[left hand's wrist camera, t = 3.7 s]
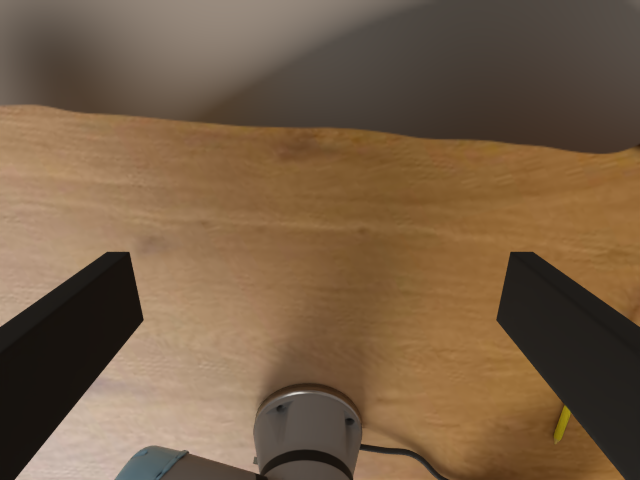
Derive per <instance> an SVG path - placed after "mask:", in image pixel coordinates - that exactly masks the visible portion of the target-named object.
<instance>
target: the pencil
mask: <svg viewBox="0 0 640 480" xmlns="http://www.w3.org/2000/svg"><path fill="white" fill-rule="evenodd" d="M570 415H571V412H570V411H569V409H568V408H567V407H566V406H565V405H564V408H563V410H562V413H561V416H560V419H559V421H558V424H557V427H556V430H555V432H554V435H553V436H554V444H556V443H558V442H559V441H560V440H561V439H562V436H563V433H564V431H565V428H566V425H567V423H568V420H569V417H570Z"/></svg>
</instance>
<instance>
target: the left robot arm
mask: <svg viewBox="0 0 640 480" xmlns="http://www.w3.org/2000/svg"><path fill="white" fill-rule="evenodd" d="M143 320H144V319H143V315H142V310H141V305H140V300H139V295H138V291H137V286H136V281H135V276H134V272H133V267H132V262H131V257H130V252H106V253H105V254H103V255H102V256H101V257H99V258H98V259H96V260H95V261H94V262H92V263H91V264H89V265H88V266H86V267H85V268H84V269H82V270H81V271H79V272H78V273H76V274H75V275H74V276H72V277H71V278H69V279H68V280H67V281H65V282H64V283H62V284H61V285H59V286H58V287H57V288H55V289H54V290H52V291H51V292H49V293H48V294H47V295H45V296H44V297H42V298H41V299H39V300H38V301H37V302H35V303H34V304H32V305H31V306H30V307H28V308H27V309H25V310H24V311H22V312H21V313H20V314H18V315H17V316H15V317H14V318H12V319H11V320H10V321H8V322H7V323H5V324H4V325H3V326H1V327H0V480H15V479H16V477H17V476H18V475H19V474H20V472H21V471H22V470H23V469H24V467H25V466H26V465H27V464H28V462H29V461H30V460H31V459H32V458H33V456H34V455H35V454H36V453H37V451H38V450H39V449H40V448H41V446H42V445H43V444H44V443H45V441H46V440H47V439H48V438H49V437H50V435H51V434H52V433H53V432H54V430H55V429H56V428H57V427H58V425H59V424H60V423H61V422H62V420H63V419H64V418H65V417H66V416H67V414H68V413H69V412H70V411H71V409H72V408H73V407H74V406H75V404H76V403H77V402H78V401H79V399H80V398H81V397H82V396H83V394H84V393H85V392H86V391H87V390H88V388H89V387H90V386H91V385H92V383H93V382H94V381H95V380H96V378H97V377H98V376H99V375H100V373H101V372H102V371H103V370H104V369H105V367H106V366H107V365H108V364H109V362H110V361H111V360H112V359H113V357H114V356H115V355H116V354H117V352H118V351H119V350H120V349H121V348H122V346H123V345H124V344H125V343H126V341H127V340H128V339H129V338H130V336H131V335H132V334H133V333H134V331H135V330H136V329H137V328H138V326H139V325H140V324H141V323H142V322H143ZM496 320H497V322H498V323H499V324H500V325H501V326H502V328H503V329H504V330H505V331H506V333H507V334H508V335H509V336H510V338H511V339H512V340H513V341H514V343H515V344H516V345H517V346H518V348H519V349H520V350H521V351H522V352H523V354H524V355H525V356H526V357H527V359H528V360H529V361H530V362H531V364H532V365H533V366H534V367H535V369H536V370H537V371H538V372H539V373H540V375H541V376H542V377H543V378H544V380H545V381H546V382H547V383H548V385H549V386H550V387H551V388H552V390H553V391H554V392H555V393H556V394H557V396H558V397H559V398H560V399H561V401H562V402H563V403H564V404H565V406H566V407H567V408H568V409H569V411H570V412H571V413H572V414H573V416H574V417H575V418H576V419H577V420H578V422H579V423H580V424H581V425H582V427H583V428H584V429H585V430H586V432H587V433H588V434H589V435H590V437H591V438H592V439H593V440H594V441H595V443H596V444H597V445H598V446H599V448H600V449H601V450H602V451H603V453H604V454H605V455H606V456H607V458H608V459H609V460H610V461H611V462H612V464H613V465H614V466H615V467H616V469H617V470H618V471H619V472H620V474H621V475H622V476H623V477H624V479H625V480H640V327H639V326H637V325H636V324H635V323H633V322H632V321H630V320H629V319H628V318H626V317H625V316H623V315H622V314H620V313H619V312H618V311H616V310H615V309H613V308H612V307H610V306H609V305H608V304H606V303H605V302H603V301H602V300H600V299H599V298H598V297H596V296H595V295H593V294H592V293H591V292H589V291H588V290H586V289H585V288H583V287H582V286H581V285H579V284H578V283H576V282H575V281H573V280H572V279H571V278H569V277H568V276H566V275H565V274H564V273H562V272H561V271H559V270H558V269H556V268H555V267H554V266H552V265H551V264H549V263H548V262H546V261H545V260H544V259H542V258H541V257H539V256H538V255H537V254H535V253H534V252H510V257H509V262H508V267H507V272H506V276H505V281H504V286H503V291H502V295H501V300H500V305H499V310H498V315H497V319H496ZM361 440H362V426H361V419H360V415H359V412H358V410H357V408H356V406H355V405H354V403H353V402H352V401H351V400H350V399H349V398H348V397H346V396H345V395H344V394H342V393H341V392H339V391H337V390H335V389H333V388H330V387H327V386H323V385H317V384H298V385H292V386H288V387H285V388H283V389H280V390H278V391H276V392H275V393H273V394H272V395H270V396H269V397H268V398H267V399H266V400H265V401H264V402H263V403H262V405H261V406H260V408H259V410H258V412H257V415H256V420H255V425H254V442H255V448H256V454H257V457H254V462H253V464H257V465H258V466H259V472H260V475H259V474H256V473H253V472H250V471H246V470H243V469H240V468H236V467H233V466H229V465H226V464H223V463H219V462H216V461H212V460H209V459H206V458H202V457H199V456H195V455H192V454H189V451H186V450H183V451H178V450H173V449H169V448H164V447H160V446H149V447H146V448H143V449H142V450H140V451H139V452H137V453H136V454H135V455H134V456H133V457H132V458H131V459H130V460H129V461H128V463H127V464H126V465H125V466H124V467H123V469H122V470H121V471H120V473H119V474H118V476H117V477H116V478H115V480H353V474H354V470H355V466H356V461H357V457H358V453H359V450H364V451H371V452H377V453H384V454H399V455H407V456H410V457H413V458H415V459H417V460H418V461H419V462H421V463H422V464H423V465H424V466H425V467H426V468H427V469H428V470H429V472H430V473H431V474H432V475H433V476H434V477H436V478H437V479H438V480H448V479H446V478H444V477H443V476H441V475H440V474H439V473H437V472H436V471H435V470H434V468H433V467H432V466H431V465H430V464H429V463H428V462H427V461H426V460H425V459H424V458H423V457H421V456H420V455H418V454H417V453H414V452H412V451H410V450H406V449H397V448H384V447H377V446H371V445H364V444H361Z"/></svg>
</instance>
